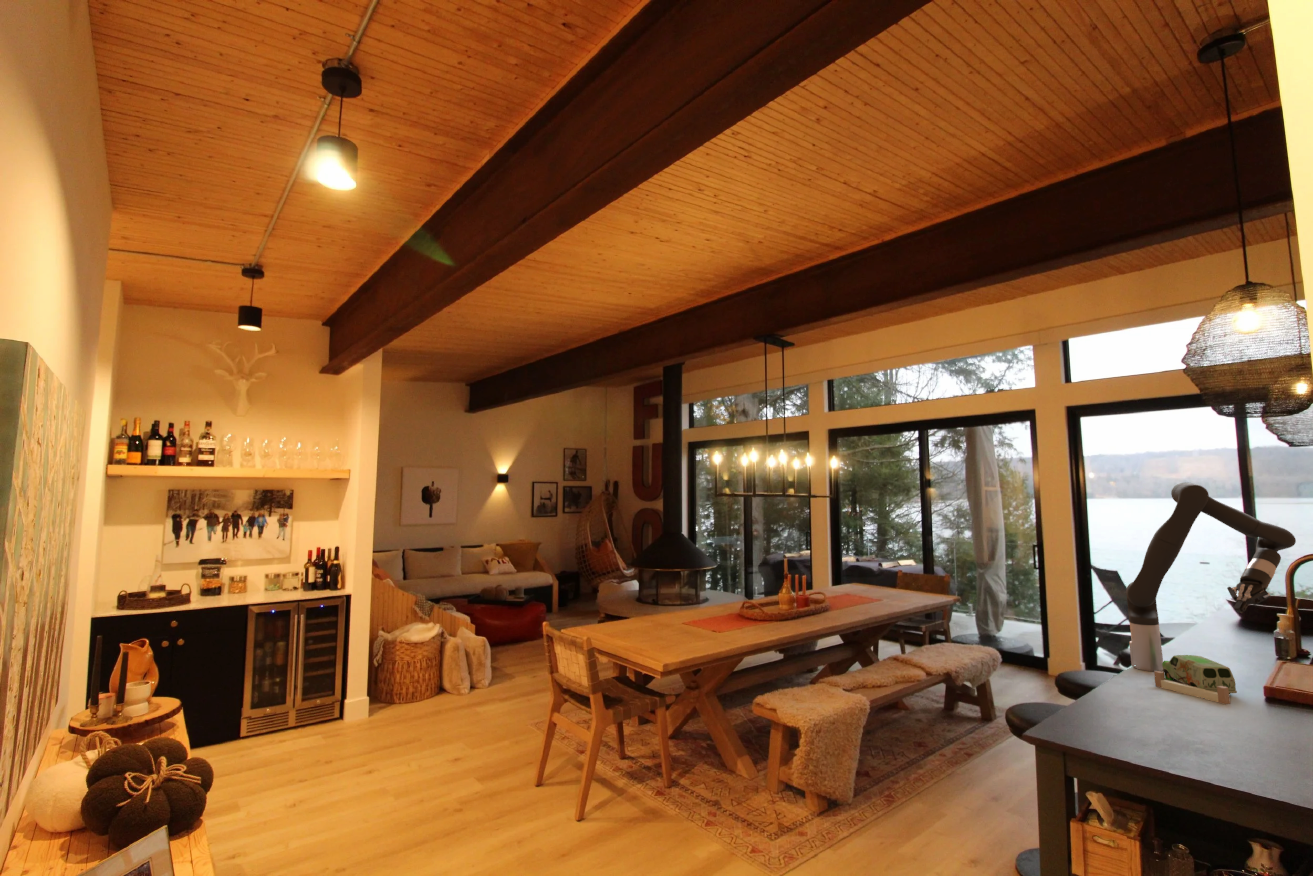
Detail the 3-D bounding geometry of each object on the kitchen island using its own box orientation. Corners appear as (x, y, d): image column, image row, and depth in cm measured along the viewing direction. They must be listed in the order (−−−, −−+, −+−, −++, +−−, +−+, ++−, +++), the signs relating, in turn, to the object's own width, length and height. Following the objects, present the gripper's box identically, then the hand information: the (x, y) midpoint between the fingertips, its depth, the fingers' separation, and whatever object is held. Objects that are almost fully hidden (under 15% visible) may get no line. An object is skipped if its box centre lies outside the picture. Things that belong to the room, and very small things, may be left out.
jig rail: (1155, 686, 227) (1154, 671, 228) (1159, 685, 228) (1158, 671, 228) (1225, 704, 206) (1223, 688, 207) (1230, 703, 207) (1228, 687, 207)
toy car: (1194, 677, 236) (1191, 649, 237) (1239, 698, 212) (1236, 667, 213) (1161, 677, 238) (1158, 649, 239) (1202, 697, 214) (1199, 666, 215)
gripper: (1231, 565, 239) (1211, 601, 234) (1274, 569, 226) (1253, 607, 222) (1243, 579, 240) (1223, 615, 235) (1286, 583, 227) (1266, 621, 223)
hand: (1238, 611), depth 228 cm, fingers closed
